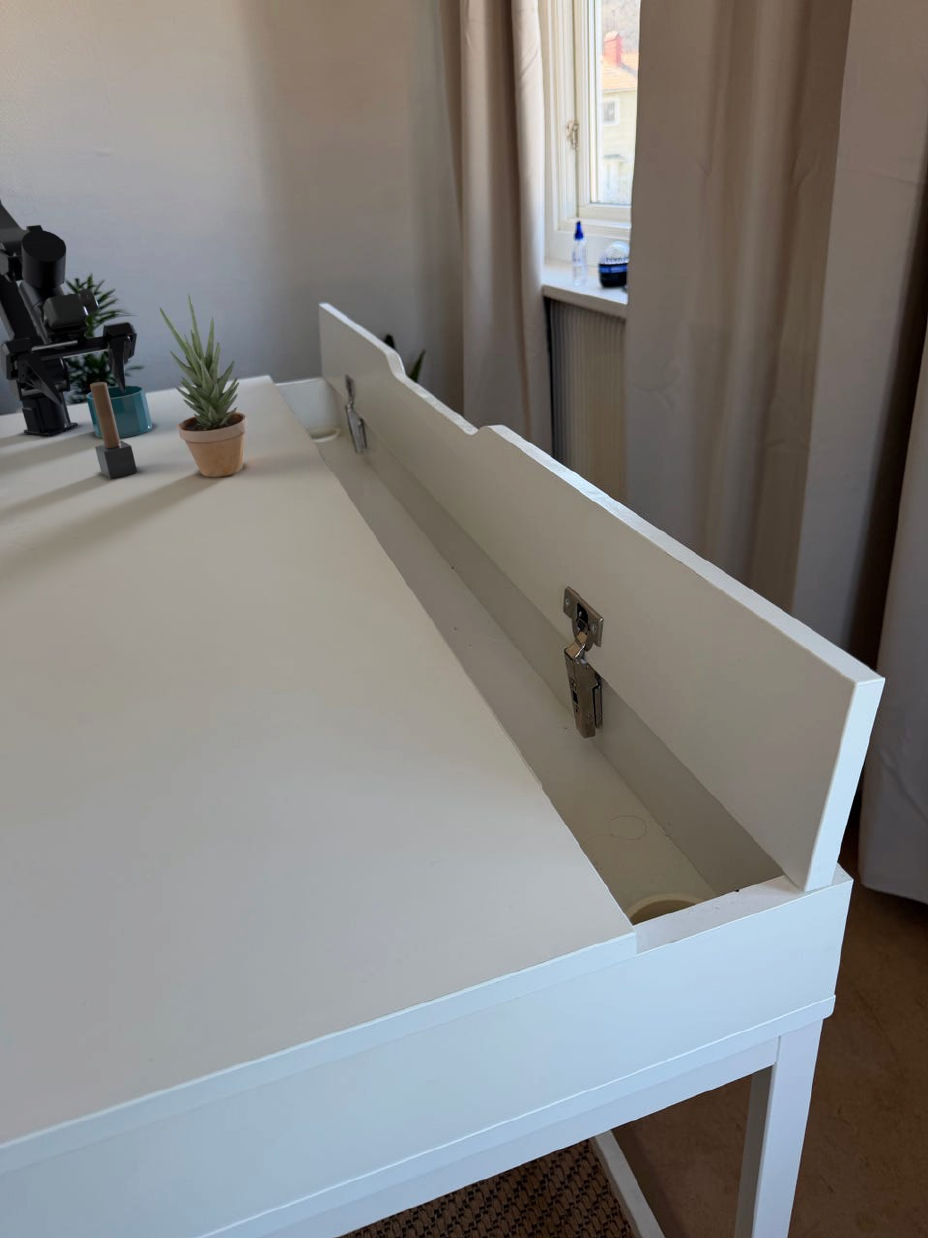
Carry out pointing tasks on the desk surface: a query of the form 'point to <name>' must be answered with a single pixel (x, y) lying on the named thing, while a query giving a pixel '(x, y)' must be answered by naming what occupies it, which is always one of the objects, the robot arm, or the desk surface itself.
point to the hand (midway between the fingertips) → (93, 396)
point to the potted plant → (209, 406)
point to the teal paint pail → (125, 411)
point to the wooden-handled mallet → (111, 437)
